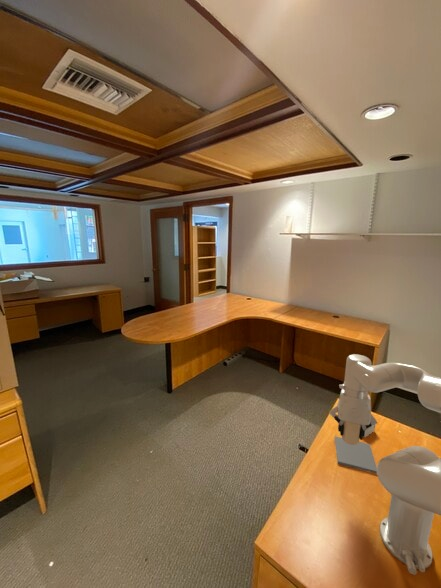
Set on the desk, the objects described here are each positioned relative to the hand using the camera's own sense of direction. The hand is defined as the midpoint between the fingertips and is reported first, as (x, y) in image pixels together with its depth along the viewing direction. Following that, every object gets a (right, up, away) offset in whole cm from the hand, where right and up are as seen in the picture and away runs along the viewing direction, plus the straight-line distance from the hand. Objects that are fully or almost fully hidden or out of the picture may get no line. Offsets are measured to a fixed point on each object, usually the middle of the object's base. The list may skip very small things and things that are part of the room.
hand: (350, 434), depth 90 cm
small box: (+20, -14, +29) cm, 38 cm away
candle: (0, -2, 0) cm, 2 cm away
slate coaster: (+9, -17, +14) cm, 24 cm away
